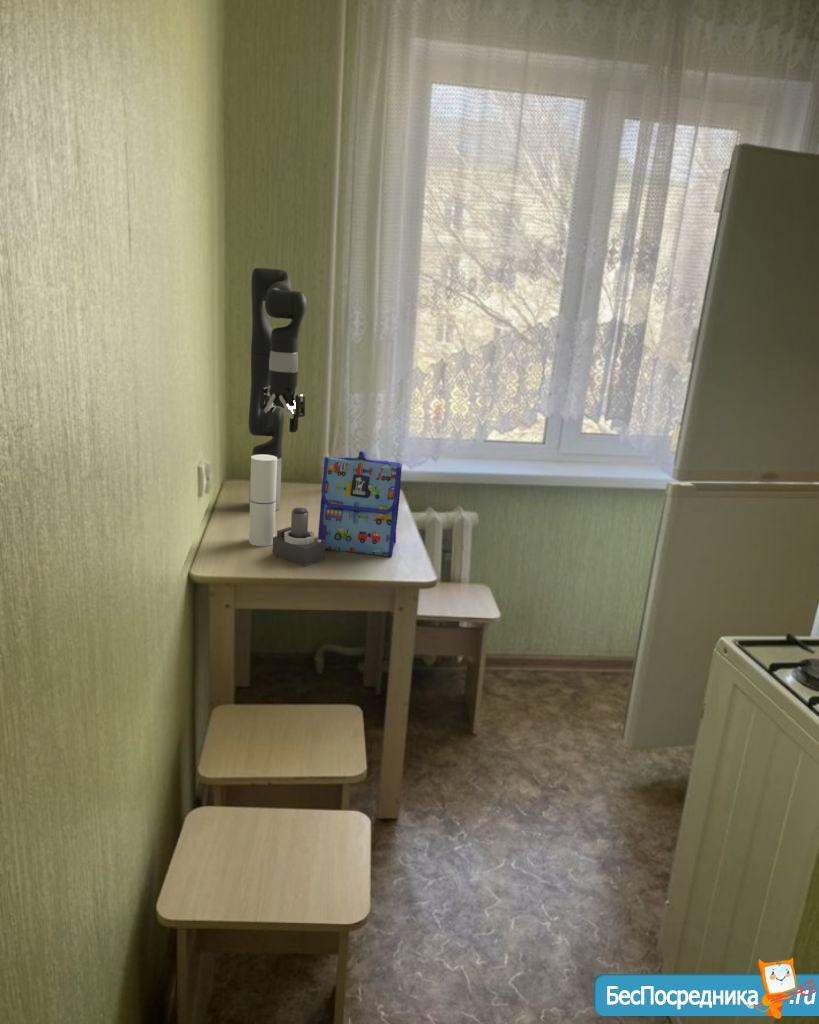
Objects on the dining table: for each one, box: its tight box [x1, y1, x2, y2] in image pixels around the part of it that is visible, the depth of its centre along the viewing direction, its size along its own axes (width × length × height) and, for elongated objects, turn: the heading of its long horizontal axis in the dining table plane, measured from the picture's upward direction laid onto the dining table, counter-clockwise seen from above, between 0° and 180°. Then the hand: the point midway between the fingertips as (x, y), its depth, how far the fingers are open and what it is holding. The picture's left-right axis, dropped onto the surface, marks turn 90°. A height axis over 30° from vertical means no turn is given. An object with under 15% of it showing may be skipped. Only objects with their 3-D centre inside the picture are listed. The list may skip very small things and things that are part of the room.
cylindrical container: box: [248, 454, 277, 547], centre depth 215 cm, size 7×7×25 cm
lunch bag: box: [317, 449, 403, 557], centre depth 218 cm, size 22×14×29 cm, turn 87°
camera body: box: [271, 526, 326, 567], centre depth 209 cm, size 12×8×7 cm, turn 56°
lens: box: [290, 507, 309, 538], centre depth 208 cm, size 4×4×9 cm
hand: (281, 429), depth 206 cm, fingers open, 8 cm apart
